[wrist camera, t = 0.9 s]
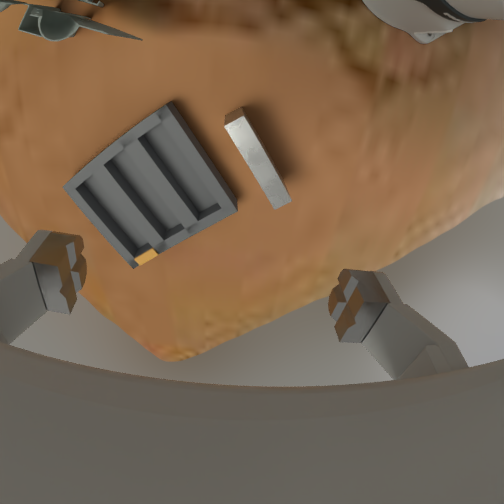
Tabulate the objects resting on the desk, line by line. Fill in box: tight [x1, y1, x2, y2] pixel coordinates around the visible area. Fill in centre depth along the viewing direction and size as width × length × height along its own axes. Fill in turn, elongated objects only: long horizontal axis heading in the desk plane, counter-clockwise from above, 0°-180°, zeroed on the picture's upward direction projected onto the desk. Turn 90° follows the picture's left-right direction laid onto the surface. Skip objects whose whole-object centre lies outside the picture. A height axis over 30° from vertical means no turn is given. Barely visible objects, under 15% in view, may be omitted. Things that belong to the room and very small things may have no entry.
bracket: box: [0, 0, 142, 41], centre depth 16 cm, size 28×7×20 cm, turn 57°
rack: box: [63, 101, 238, 269], centre depth 39 cm, size 19×17×4 cm
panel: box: [224, 107, 292, 210], centre depth 36 cm, size 2×12×7 cm, turn 29°
